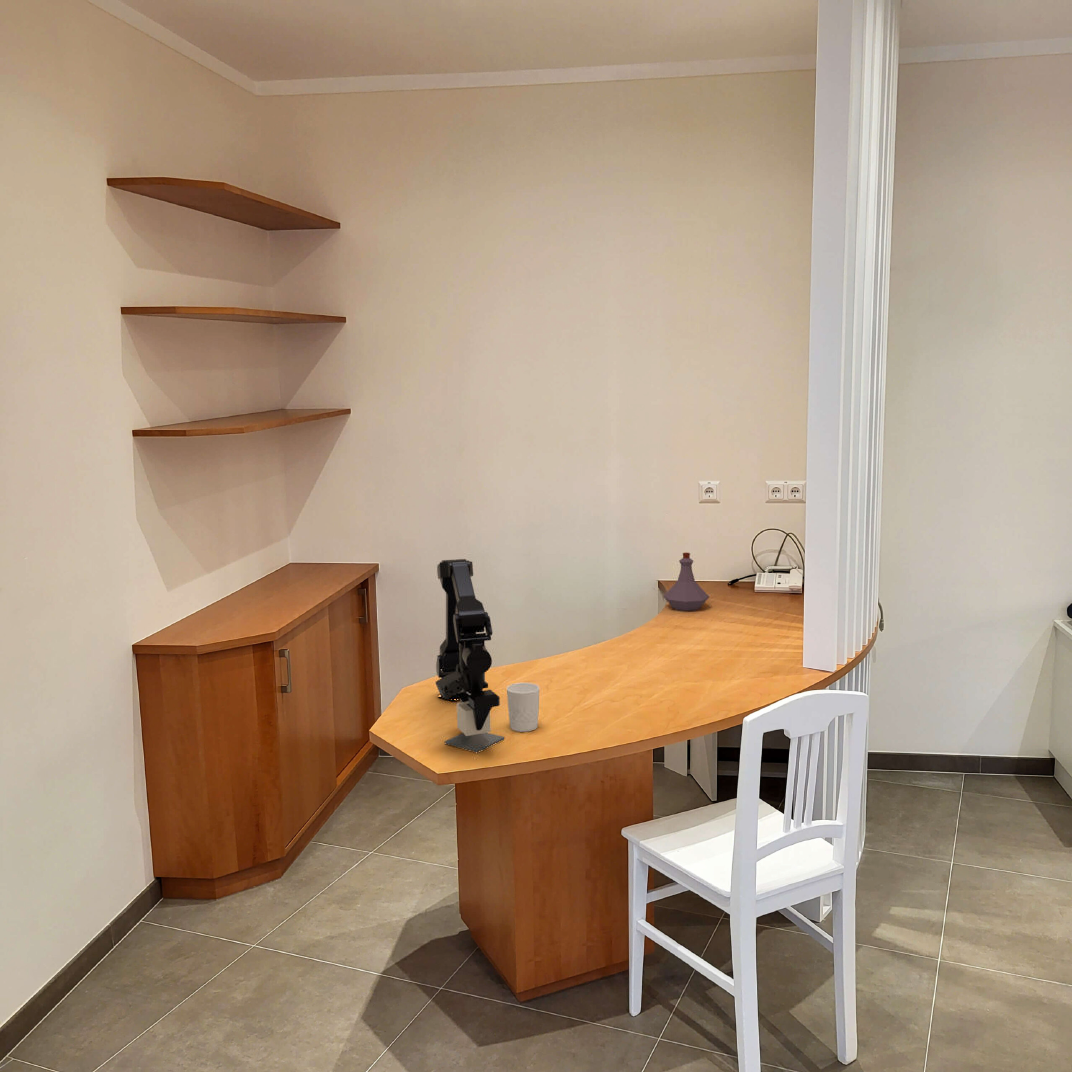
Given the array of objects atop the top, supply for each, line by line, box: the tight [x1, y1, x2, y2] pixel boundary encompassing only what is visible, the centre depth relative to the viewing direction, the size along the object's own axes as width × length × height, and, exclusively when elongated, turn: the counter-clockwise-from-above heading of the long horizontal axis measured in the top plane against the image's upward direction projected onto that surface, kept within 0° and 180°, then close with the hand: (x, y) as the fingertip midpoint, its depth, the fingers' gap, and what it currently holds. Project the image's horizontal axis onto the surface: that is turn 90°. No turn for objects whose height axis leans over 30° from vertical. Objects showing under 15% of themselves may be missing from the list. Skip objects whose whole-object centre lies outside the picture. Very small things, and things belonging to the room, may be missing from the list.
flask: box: [662, 552, 710, 612], centre depth 353 cm, size 16×16×20 cm
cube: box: [456, 701, 492, 736], centre depth 231 cm, size 6×6×6 cm
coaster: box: [443, 732, 506, 754], centre depth 232 cm, size 10×10×1 cm
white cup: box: [506, 682, 540, 733], centre depth 240 cm, size 8×8×10 cm
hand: (474, 725), depth 231 cm, fingers closed on cube, 6 cm apart
